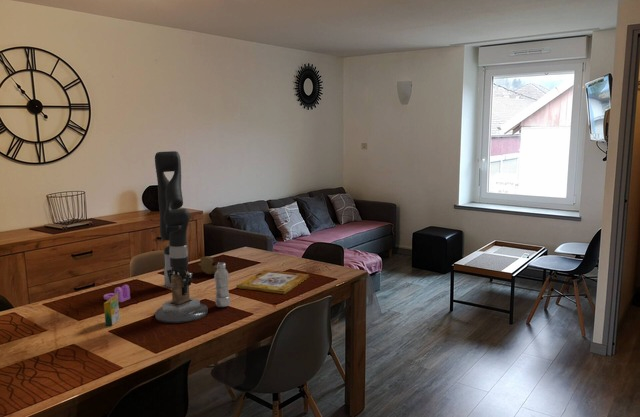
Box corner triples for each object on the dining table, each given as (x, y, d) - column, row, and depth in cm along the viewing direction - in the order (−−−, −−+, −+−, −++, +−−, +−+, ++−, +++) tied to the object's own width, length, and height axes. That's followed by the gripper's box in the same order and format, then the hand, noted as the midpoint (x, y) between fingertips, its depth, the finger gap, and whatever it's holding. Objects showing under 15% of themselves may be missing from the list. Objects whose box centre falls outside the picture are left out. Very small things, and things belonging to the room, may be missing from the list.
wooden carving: (223, 274, 273) (223, 257, 272) (217, 276, 269) (217, 259, 268) (202, 270, 282) (201, 253, 280) (196, 272, 278) (195, 255, 276)
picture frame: (309, 274, 267) (284, 290, 239) (309, 278, 267) (284, 295, 240) (265, 269, 277) (236, 284, 249) (265, 273, 277) (236, 288, 250)
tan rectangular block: (172, 302, 212) (171, 275, 210) (183, 298, 217) (181, 272, 215) (179, 304, 210) (177, 276, 208) (189, 300, 215) (188, 273, 213)
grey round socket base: (144, 317, 211) (143, 304, 210) (183, 302, 229) (182, 290, 228) (180, 327, 199) (179, 314, 198) (218, 310, 218) (217, 298, 217)
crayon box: (113, 319, 208) (111, 293, 206) (120, 319, 208) (118, 293, 206) (105, 326, 201) (103, 298, 199) (112, 326, 201) (110, 298, 199)
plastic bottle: (232, 304, 225) (231, 262, 222) (225, 309, 219) (223, 265, 216) (220, 303, 227) (218, 261, 224) (212, 308, 221) (210, 264, 218)
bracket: (130, 299, 234) (129, 284, 233) (120, 302, 229) (119, 288, 228) (110, 295, 240) (109, 281, 239) (101, 298, 235) (100, 284, 234)
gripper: (160, 255, 211) (162, 294, 213) (183, 259, 203) (185, 299, 206) (174, 251, 217) (176, 289, 220) (197, 255, 210) (199, 294, 212)
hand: (180, 294), depth 213 cm, fingers closed on tan rectangular block, 4 cm apart
